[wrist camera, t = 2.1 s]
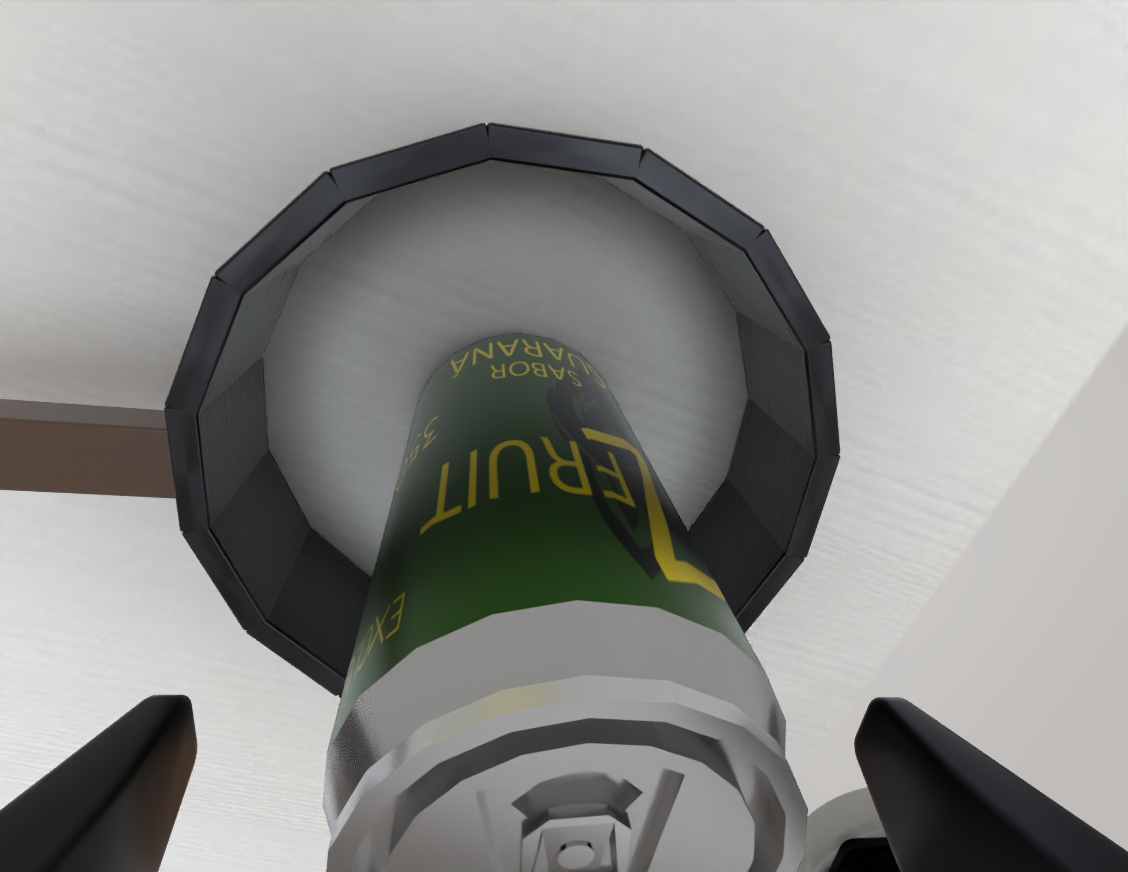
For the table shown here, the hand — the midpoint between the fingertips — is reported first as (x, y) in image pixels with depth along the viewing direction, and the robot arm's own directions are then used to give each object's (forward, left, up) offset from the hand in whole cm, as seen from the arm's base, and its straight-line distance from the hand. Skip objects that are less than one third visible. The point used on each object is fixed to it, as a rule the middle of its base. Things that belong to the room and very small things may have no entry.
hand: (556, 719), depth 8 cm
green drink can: (0, 0, -10) cm, 10 cm away
